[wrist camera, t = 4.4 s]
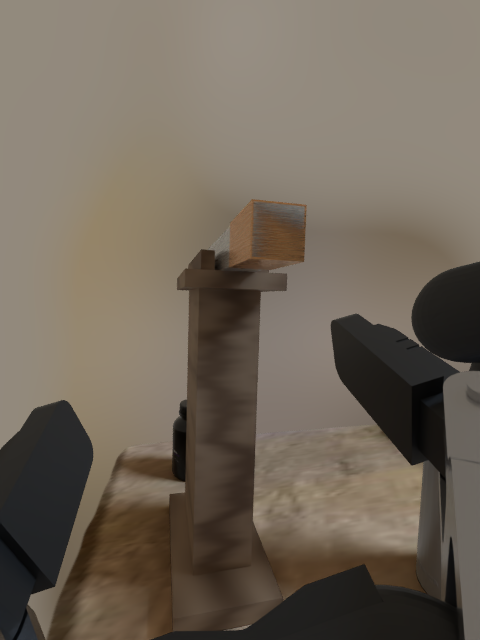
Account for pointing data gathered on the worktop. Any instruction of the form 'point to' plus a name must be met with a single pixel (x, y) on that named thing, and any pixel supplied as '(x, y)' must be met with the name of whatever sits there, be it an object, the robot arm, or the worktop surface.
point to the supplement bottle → (180, 443)
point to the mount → (220, 455)
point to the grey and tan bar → (262, 238)
